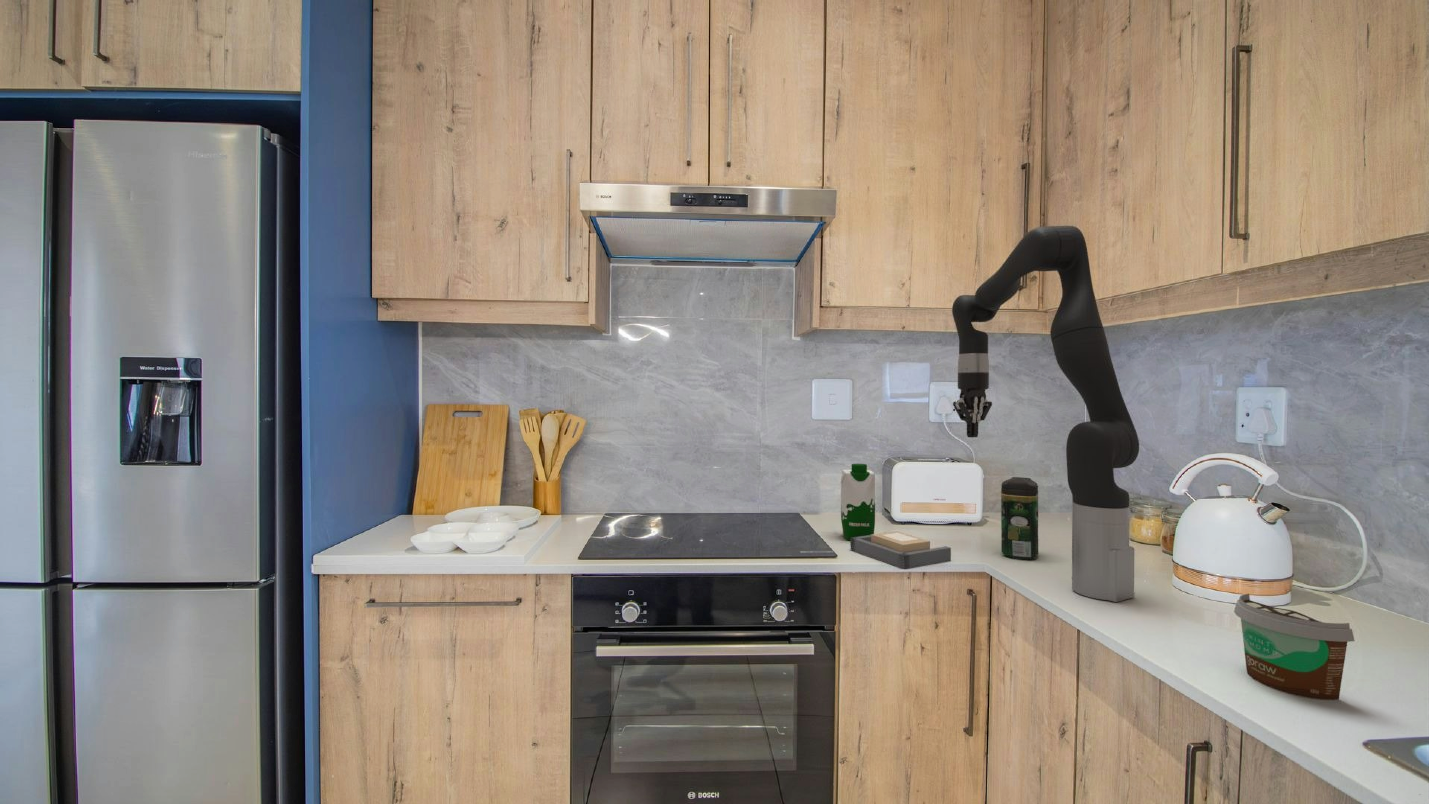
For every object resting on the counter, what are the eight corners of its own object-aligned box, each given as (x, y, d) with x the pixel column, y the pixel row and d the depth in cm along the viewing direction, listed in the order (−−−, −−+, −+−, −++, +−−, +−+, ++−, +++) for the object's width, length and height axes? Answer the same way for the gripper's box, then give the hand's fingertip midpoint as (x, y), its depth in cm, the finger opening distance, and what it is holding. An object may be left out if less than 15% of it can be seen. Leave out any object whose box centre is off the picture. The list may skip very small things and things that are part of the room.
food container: (1210, 665, 83) (1211, 595, 83) (1243, 661, 85) (1244, 592, 85) (1317, 711, 71) (1318, 629, 71) (1354, 705, 73) (1354, 624, 73)
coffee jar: (1003, 548, 147) (1003, 474, 147) (1039, 552, 143) (1039, 476, 143) (998, 557, 139) (998, 479, 139) (1036, 562, 135) (1036, 481, 135)
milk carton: (843, 541, 154) (843, 465, 154) (839, 533, 163) (839, 461, 163) (877, 542, 153) (877, 465, 153) (871, 534, 162) (871, 461, 162)
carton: (930, 562, 135) (930, 540, 135) (902, 567, 132) (902, 544, 132) (897, 551, 146) (897, 530, 145) (871, 555, 142) (871, 533, 142)
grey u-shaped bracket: (950, 560, 136) (950, 547, 136) (904, 568, 130) (904, 555, 130) (894, 543, 152) (894, 531, 152) (850, 549, 146) (850, 537, 146)
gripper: (968, 370, 148) (967, 439, 148) (1002, 371, 154) (1001, 437, 155) (944, 371, 155) (943, 437, 155) (977, 372, 161) (976, 435, 161)
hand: (972, 437), depth 155 cm, fingers closed
